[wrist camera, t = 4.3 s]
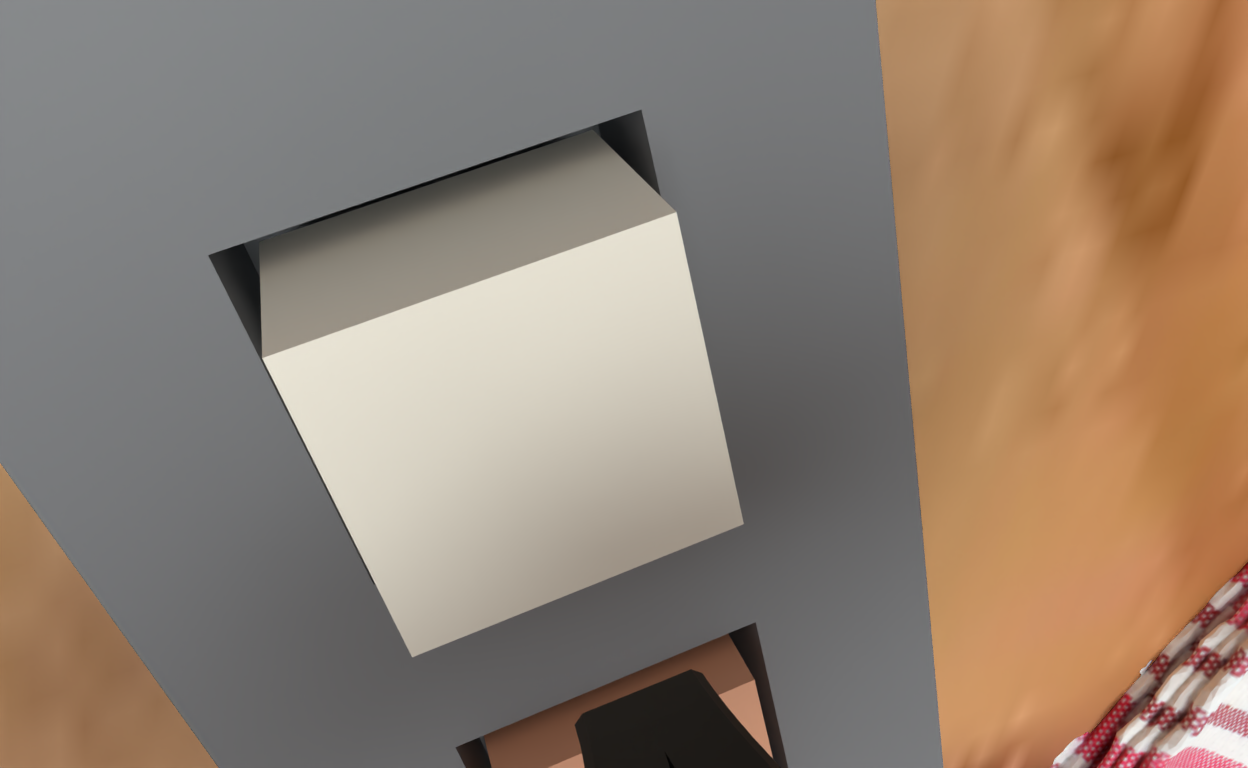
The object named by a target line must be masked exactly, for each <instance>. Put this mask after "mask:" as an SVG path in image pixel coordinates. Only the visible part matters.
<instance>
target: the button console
mask: <svg viewBox="0 0 1248 768" xmlns="http://www.w3.org/2000/svg"><path fill="white" fill-rule="evenodd" d="M590 130H593V131H594V132H596V133H597V134H598V135H599V136H600V137H601V138H602V139H603V140H604V141H605V142H606V143H607V144H608V145H609V146H610V147H611V148H612V149H613V150H614V151H615V152H616V153H617V154H618V155H619V156H620V157H621V158H622V159H623V160H624V161H625V162H626V163H627V164H628V165H629V166H630V167H631V168H632V169H633V170H634V171H635V172H636V173H637V174H638V175H639V176H640V177H641V178H642V179H643V180H644V181H645V182H646V183H647V184H648V185H649V186H650V187H651V188H653V189H654V190H655V191H656V192H657V193H658V194H659V195H660V196H661V197H662V198H663V199H664V200H665V201H666V202H667V203H668V204H669V205H670V206H671V207H672V208H673V209H674V210H675V211H676V212H677V217H678V221H679V226H680V230H681V235H682V240H683V244H684V249H685V254H686V258H687V263H688V268H689V272H690V277H691V281H692V286H693V291H694V295H695V300H696V305H697V309H698V314H699V319H700V323H701V328H702V332H703V337H704V342H705V346H706V351H707V356H708V360H709V365H710V370H711V374H712V379H713V383H714V388H715V393H716V397H717V402H718V407H719V411H720V416H721V421H722V425H723V430H724V434H725V439H726V444H727V448H728V453H729V458H730V462H731V467H732V471H733V476H734V481H735V485H736V490H737V495H738V499H739V504H740V509H741V513H742V518H743V522H744V524H743V525H740V526H738V527H735V528H733V529H731V530H728V531H726V532H723V533H721V534H718V535H716V536H713V537H711V538H708V539H706V540H703V541H701V542H698V543H696V544H693V545H691V546H688V547H686V548H683V549H681V550H678V551H676V552H673V553H671V554H668V555H666V556H663V557H661V558H658V559H656V560H653V561H651V562H648V563H646V564H643V565H641V566H638V567H636V568H633V569H631V570H628V571H626V572H624V573H621V574H619V575H616V576H614V577H611V578H609V579H606V580H604V581H601V582H599V583H596V584H594V585H591V586H589V587H586V588H584V589H581V590H579V591H576V592H574V593H571V594H569V595H566V596H564V597H561V598H559V599H556V600H554V601H551V602H549V603H546V604H544V605H541V606H539V607H536V608H534V609H531V610H529V611H526V612H524V613H521V614H519V615H517V616H514V617H512V618H509V619H507V620H504V621H502V622H499V623H497V624H494V625H492V626H489V627H487V628H484V629H482V630H479V631H477V632H474V633H472V634H469V635H467V636H464V637H462V638H459V639H457V640H454V641H452V642H449V643H447V644H444V645H442V646H439V647H437V648H434V649H432V650H429V651H427V652H424V653H422V654H419V655H417V656H414V657H412V656H411V654H410V652H409V650H408V648H407V646H406V644H405V642H404V640H403V638H402V636H401V634H400V632H399V630H398V628H397V626H396V624H395V622H394V620H393V618H392V616H391V614H390V612H389V610H388V608H387V606H386V604H385V602H384V600H383V598H382V596H381V594H380V592H379V590H378V588H377V586H376V584H375V582H374V580H373V578H372V576H371V574H370V572H369V570H368V568H367V566H366V564H365V562H364V560H363V558H362V556H361V554H360V552H359V550H358V548H357V546H356V544H355V542H354V540H353V538H352V536H351V534H350V532H349V530H348V528H347V526H346V524H345V522H344V520H343V518H342V516H341V514H340V512H339V510H338V508H337V506H336V504H335V502H334V500H333V498H332V496H331V494H330V492H329V490H328V488H327V486H326V484H325V482H324V480H323V478H322V476H321V474H320V472H319V470H318V468H317V466H316V464H315V462H314V460H313V458H312V456H311V454H310V452H309V450H308V448H307V446H306V445H305V443H304V441H303V439H302V437H301V435H300V433H299V431H298V429H297V427H296V425H295V423H294V421H293V419H292V417H291V415H290V413H289V411H288V409H287V407H286V405H285V403H284V401H283V399H282V397H281V395H280V393H279V391H278V389H277V387H276V385H275V383H274V381H273V379H272V377H271V375H270V373H269V371H268V369H267V367H266V365H265V363H264V361H263V359H262V331H261V294H260V258H259V242H261V241H264V240H267V239H270V238H273V237H275V236H278V235H281V234H284V233H287V232H290V231H293V230H296V229H299V228H302V227H305V226H308V225H311V224H314V223H317V222H320V221H323V220H326V219H329V218H332V217H335V216H338V215H341V214H344V213H347V212H350V211H353V210H356V209H359V208H362V207H365V206H368V205H371V204H374V203H377V202H380V201H382V200H385V199H388V198H391V197H394V196H397V195H400V194H403V193H406V192H409V191H412V190H415V189H418V188H421V187H424V186H427V185H430V184H433V183H436V182H439V181H442V180H445V179H448V178H451V177H454V176H457V175H460V174H463V173H466V172H469V171H472V170H475V169H478V168H481V167H484V166H486V165H489V164H492V163H495V162H498V161H501V160H504V159H507V158H510V157H513V156H516V155H519V154H522V153H525V152H528V151H531V150H534V149H537V148H540V147H543V146H546V145H549V144H552V143H555V142H558V141H561V140H564V139H567V138H570V137H573V136H576V135H579V134H582V133H585V132H588V131H590ZM0 463H1V465H2V466H3V467H4V469H5V470H6V472H7V473H8V474H9V476H10V477H11V479H12V480H13V481H14V483H15V484H16V486H17V487H18V488H19V490H20V491H21V493H22V494H23V495H24V497H25V498H26V500H27V501H28V502H29V504H30V505H31V507H32V508H33V509H34V511H35V512H36V513H37V515H38V516H39V518H40V519H41V520H42V522H43V523H44V525H45V526H46V527H47V529H48V530H49V532H50V533H51V534H52V536H53V537H54V539H55V540H56V541H57V543H58V544H59V546H60V547H61V548H62V550H63V551H64V553H65V554H66V555H67V557H68V558H69V560H70V561H71V562H72V564H73V565H74V567H75V568H76V569H77V571H78V572H79V573H80V575H81V576H82V578H83V579H84V580H85V582H86V583H87V585H88V586H89V587H90V589H91V590H92V592H93V593H94V594H95V596H96V597H97V599H98V600H99V601H100V603H101V604H102V606H103V607H104V608H105V610H106V611H107V613H108V614H109V615H110V617H111V618H112V620H113V621H114V622H115V624H116V625H117V626H118V628H119V629H120V631H121V632H122V633H123V635H124V636H125V638H126V639H127V640H128V642H129V643H130V645H131V646H132V647H133V649H134V650H135V652H136V653H137V654H138V656H139V657H140V659H141V660H142V661H143V663H144V664H145V666H146V667H147V668H148V670H149V671H150V673H151V674H152V675H153V677H154V678H155V680H156V681H157V682H158V684H159V685H160V686H161V688H162V689H163V691H164V692H165V693H166V695H167V696H168V698H169V699H170V700H171V702H172V703H173V705H174V706H175V707H176V709H177V710H178V712H179V713H180V714H181V716H182V717H183V719H184V720H185V721H186V723H187V724H188V726H189V727H190V728H191V730H192V731H193V733H194V734H195V735H196V737H197V738H198V740H199V741H200V742H201V744H202V745H203V746H204V748H205V749H206V751H207V752H208V753H209V755H210V756H211V758H212V759H213V760H214V762H215V763H216V765H217V766H218V767H219V768H492V767H491V763H490V759H489V755H488V751H487V747H486V743H485V739H484V735H486V734H488V733H491V732H493V731H496V730H498V729H500V728H503V727H505V726H508V725H510V724H512V723H515V722H517V721H520V720H522V719H524V718H527V717H529V716H532V715H534V714H536V713H539V712H541V711H544V710H546V709H548V708H551V707H553V706H556V705H558V704H560V703H563V702H565V701H568V700H570V699H572V698H575V697H577V696H580V695H582V694H584V693H587V692H589V691H592V690H594V689H596V688H599V687H601V686H604V685H606V684H608V683H611V682H613V681H616V680H618V679H620V678H623V677H625V676H627V675H630V674H632V673H635V672H637V671H639V670H642V669H644V668H647V667H649V666H651V665H654V664H656V663H659V662H661V661H663V660H666V659H668V658H671V657H673V656H675V655H678V654H680V653H683V652H685V651H687V650H690V649H692V648H695V647H697V646H699V645H702V644H704V643H707V642H709V641H711V640H714V639H716V638H719V637H721V636H723V635H726V634H729V636H730V638H731V639H732V641H733V643H734V645H735V646H736V648H737V650H738V652H739V653H740V655H741V657H742V659H743V660H744V662H745V664H746V666H747V667H748V669H749V671H750V673H751V674H752V676H753V678H754V680H755V684H756V688H757V692H758V697H759V701H760V705H761V709H762V714H763V718H764V722H765V726H766V731H767V735H768V739H769V744H770V748H771V752H772V756H773V759H774V761H775V762H776V763H777V764H778V765H779V766H780V767H781V768H943V759H942V747H941V736H940V725H939V714H938V702H937V691H936V680H935V668H934V657H933V646H932V634H931V623H930V612H929V600H928V589H927V578H926V566H925V555H924V544H923V532H922V521H921V510H920V499H919V487H918V476H917V465H916V453H915V442H914V431H913V419H912V408H911V397H910V385H909V374H908V363H907V351H906V340H905V329H904V318H903V306H902V295H901V284H900V272H899V261H898V250H897V238H896V227H895V216H894V204H893V193H892V182H891V170H890V159H889V148H888V137H887V125H886V114H885V103H884V91H883V80H882V69H881V57H880V46H879V35H878V23H877V12H876V1H875V0H0Z"/></svg>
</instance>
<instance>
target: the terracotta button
mask: <svg viewBox="0 0 1248 768" xmlns="http://www.w3.org/2000/svg"><path fill="white" fill-rule="evenodd" d="M690 669H692V670H695V671H698V672H701V673H703V675H704V676H705V678H706V679H707V681H708V682H709V683H710V685H711V686H712V688H713V689H714V690H715V692H716V693H717V694H718V695H719V697H720V698H721V699H722V701H723V702H724V703H725V704H726V706H727V707H728V708H729V709H730V711H731V712H732V713H733V714H734V715H735V717H736V718H737V719H738V720H739V721H740V723H741V724H742V725H743V726H744V727H745V728H746V730H747V731H748V732H749V733H750V734H751V735H752V737H753V738H754V739H755V740H756V741H757V742H758V743H759V744H760V745H761V746H762V747H763V749H764V750H765V751H766V752H767V753H768V754H769V755H770V756H771V757H772V758H773V756H772V752H771V748H770V744H769V739H768V735H767V731H766V726H765V722H764V718H763V714H762V709H761V705H760V701H759V697H758V692H757V688H756V684H755V680H754V678H753V676H752V674H751V673H750V671H749V669H748V667H747V666H746V664H745V662H744V660H743V659H742V657H741V655H740V653H739V652H738V650H737V648H736V646H735V645H734V643H733V641H732V639H731V638H730V636H729V634H726V635H723V636H721V637H719V638H716V639H714V640H711V641H709V642H707V643H704V644H702V645H699V646H697V647H695V648H692V649H690V650H687V651H685V652H683V653H680V654H678V655H675V656H673V657H671V658H668V659H666V660H663V661H661V662H659V663H656V664H654V665H651V666H649V667H647V668H644V669H642V670H639V671H637V672H635V673H632V674H630V675H627V676H625V677H623V678H620V679H618V680H616V681H613V682H611V683H608V684H606V685H604V686H601V687H599V688H596V689H594V690H592V691H589V692H587V693H584V694H582V695H580V696H577V697H575V698H572V699H570V700H568V701H565V702H563V703H560V704H558V705H556V706H553V707H551V708H548V709H546V710H544V711H541V712H539V713H536V714H534V715H532V716H529V717H527V718H524V719H522V720H520V721H517V722H515V723H512V724H510V725H508V726H505V727H503V728H500V729H498V730H496V731H493V732H491V733H488V734H486V735H484V739H485V743H486V747H487V751H488V755H489V759H490V763H491V767H492V768H585V767H584V762H583V756H582V751H581V747H580V743H579V739H578V736H577V732H576V728H575V723H576V722H577V720H578V719H579V718H580V716H581V715H582V713H585V712H587V711H590V710H592V709H594V708H597V707H599V706H602V705H604V704H607V703H609V702H612V701H614V700H617V699H619V698H622V697H624V696H626V695H629V694H631V693H634V692H636V691H639V690H641V689H644V688H646V687H649V686H651V685H653V684H656V683H658V682H661V681H663V680H666V679H668V678H671V677H673V676H676V675H678V674H680V673H683V672H685V671H688V670H690Z"/></svg>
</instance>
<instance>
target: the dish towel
mask: <svg viewBox="0 0 1248 768" xmlns="http://www.w3.org/2000/svg"><path fill="white" fill-rule="evenodd" d="M1151 662H1152V660H1151V661H1150V662H1149V663H1148V664H1147V666H1146V667H1145V668H1143V669H1142V670H1140V673H1141V676H1140V677H1139V678H1138V679H1137V681H1136V682H1135V683H1134V684H1133V685H1132V686H1131V687H1130V688H1129V689H1128V691H1127V692H1126V693H1125V694H1124V695H1123V697H1122V698H1121V699H1120V700H1119V701H1118V703H1117V704H1116V705H1115V706H1114V707H1113V708H1112V710H1111V711H1110V712H1109V713H1108V714H1107V715H1106V717H1105V718H1104V719H1103V720H1102V721H1101V722H1100V723H1099V725H1098V726H1097V727H1096V728H1095V729H1094V730H1093V731H1092V732H1091V733H1088V732H1086V733H1085V734H1084V735H1082V736H1081V737H1077V738H1075V739H1074V740H1073V741H1072V742H1071V743H1070V744H1069V745H1068V746H1067V747H1066V748H1065V749H1064V751H1063V752H1062V753H1061V754H1060V755H1058V756H1057V757H1056V759H1055V760H1054V763H1053V765H1052V766H1051V767H1050V768H1248V563H1247V564H1246V565H1245V566H1244V567H1243V568H1242V569H1241V570H1240V572H1239V573H1238V574H1237V575H1236V576H1234V577H1233V578H1231V579H1230V580H1229V581H1228V582H1227V583H1226V584H1225V585H1224V586H1223V587H1222V588H1221V589H1220V590H1219V591H1218V592H1217V593H1216V594H1215V595H1214V596H1213V597H1212V599H1211V600H1210V601H1209V602H1208V604H1207V605H1206V606H1205V608H1204V609H1203V610H1202V611H1201V612H1200V613H1199V614H1198V615H1197V616H1196V617H1195V618H1194V619H1193V620H1192V621H1191V622H1190V623H1189V624H1188V625H1187V626H1186V627H1185V628H1184V629H1183V630H1182V631H1181V632H1180V633H1179V634H1178V635H1177V636H1176V637H1175V638H1174V639H1173V640H1172V641H1171V642H1170V643H1169V644H1168V645H1167V646H1166V648H1165V649H1164V650H1163V651H1162V652H1161V654H1160V655H1159V656H1158V658H1157V659H1156V660H1155V662H1154V663H1153V664H1152V665H1151V666H1150V667H1149V668H1148V669H1147V667H1148V666H1149V665H1150V663H1151ZM1146 669H1147V670H1146Z"/></svg>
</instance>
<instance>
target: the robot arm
mask: <svg viewBox="0 0 1248 768" xmlns="http://www.w3.org/2000/svg"><path fill="white" fill-rule="evenodd" d="M575 728H576V732H577V736H578V739H579V743H580V747H581V751H582V756H583V762H584V767H585V768H781V767H780V766H779V765H778V764H777V763H776V762H775V761H774V759H773V758H772V757H771V756H770V755H769V754H768V753H767V752H766V751H765V750H764V749H763V747H762V746H761V745H760V744H759V743H758V742H757V741H756V740H755V739H754V738H753V737H752V735H751V734H750V733H749V732H748V731H747V730H746V728H745V727H744V726H743V725H742V724H741V723H740V721H739V720H738V719H737V718H736V717H735V715H734V714H733V713H732V712H731V711H730V709H729V708H728V707H727V706H726V704H725V703H724V702H723V701H722V699H721V698H720V697H719V695H718V694H717V693H716V692H715V690H714V689H713V688H712V686H711V685H710V683H709V682H708V681H707V679H706V678H705V676H704V675H703V673H701V672H698V671H695V670H692V669H690V670H688V671H685V672H683V673H680V674H678V675H676V676H673V677H671V678H668V679H666V680H663V681H661V682H658V683H656V684H653V685H651V686H649V687H646V688H644V689H641V690H639V691H636V692H634V693H631V694H629V695H626V696H624V697H622V698H619V699H617V700H614V701H612V702H609V703H607V704H604V705H602V706H599V707H597V708H594V709H592V710H590V711H587V712H585V713H582V715H581V716H580V718H579V719H578V720H577V722H576V723H575Z"/></svg>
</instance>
